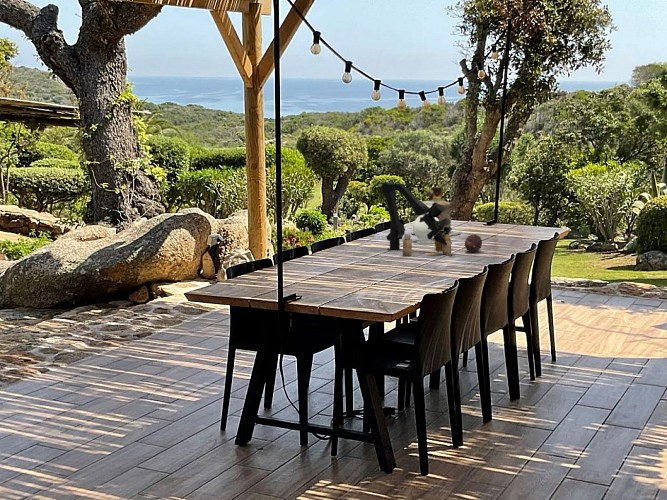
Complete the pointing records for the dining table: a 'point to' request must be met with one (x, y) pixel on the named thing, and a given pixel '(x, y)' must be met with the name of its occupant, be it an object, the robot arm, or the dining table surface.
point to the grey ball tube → (407, 245)
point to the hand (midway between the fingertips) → (448, 244)
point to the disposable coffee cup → (438, 246)
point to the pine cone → (473, 243)
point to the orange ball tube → (446, 246)
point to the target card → (425, 253)
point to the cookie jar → (436, 196)
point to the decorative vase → (423, 228)
